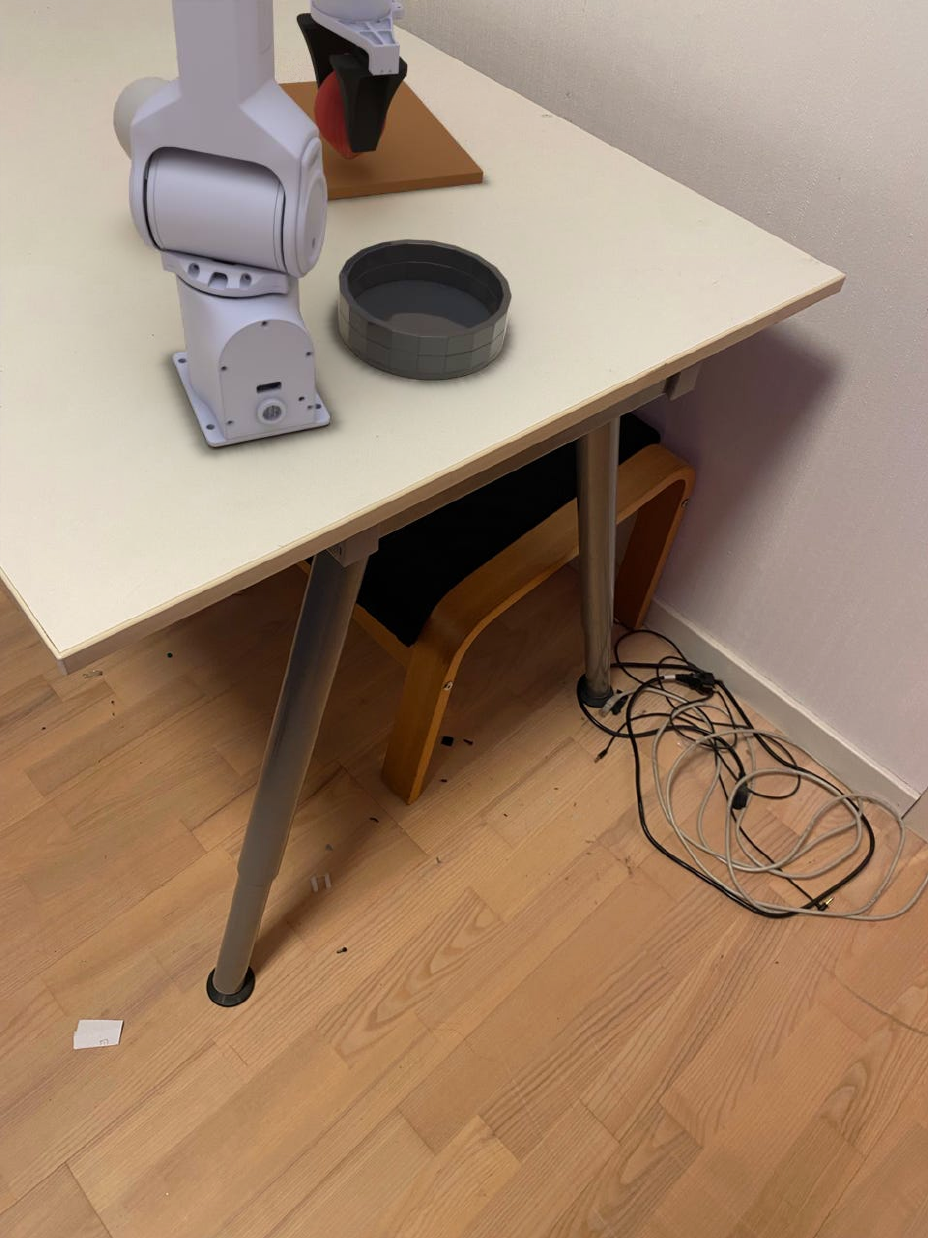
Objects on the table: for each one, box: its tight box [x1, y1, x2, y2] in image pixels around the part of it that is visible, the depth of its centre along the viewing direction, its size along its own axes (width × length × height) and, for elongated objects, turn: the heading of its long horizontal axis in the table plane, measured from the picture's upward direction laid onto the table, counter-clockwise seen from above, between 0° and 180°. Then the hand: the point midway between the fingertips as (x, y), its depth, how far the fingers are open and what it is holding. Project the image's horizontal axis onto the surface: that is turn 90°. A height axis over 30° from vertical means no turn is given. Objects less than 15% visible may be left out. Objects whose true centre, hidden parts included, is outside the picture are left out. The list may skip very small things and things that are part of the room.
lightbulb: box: [112, 76, 172, 161], centre depth 68 cm, size 6×6×11 cm
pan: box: [337, 238, 513, 381], centre depth 66 cm, size 12×12×4 cm
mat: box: [278, 80, 484, 201], centre depth 85 cm, size 20×16×1 cm
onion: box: [314, 71, 387, 160], centre depth 75 cm, size 6×6×8 cm
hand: (349, 131), depth 76 cm, fingers closed on onion, 6 cm apart
